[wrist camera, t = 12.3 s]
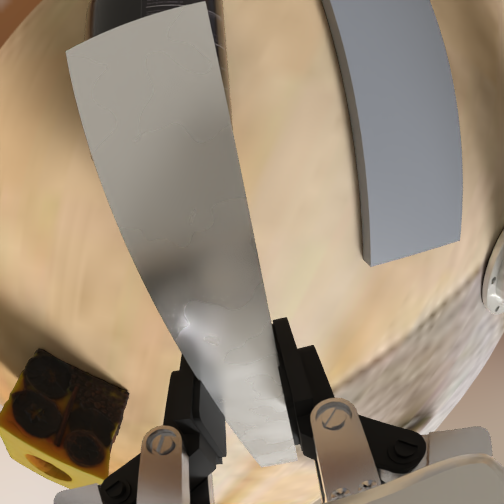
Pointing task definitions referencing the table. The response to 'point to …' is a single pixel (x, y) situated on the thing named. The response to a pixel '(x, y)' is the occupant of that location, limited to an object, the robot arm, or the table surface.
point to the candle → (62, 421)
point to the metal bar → (185, 208)
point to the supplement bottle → (148, 3)
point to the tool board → (400, 124)
